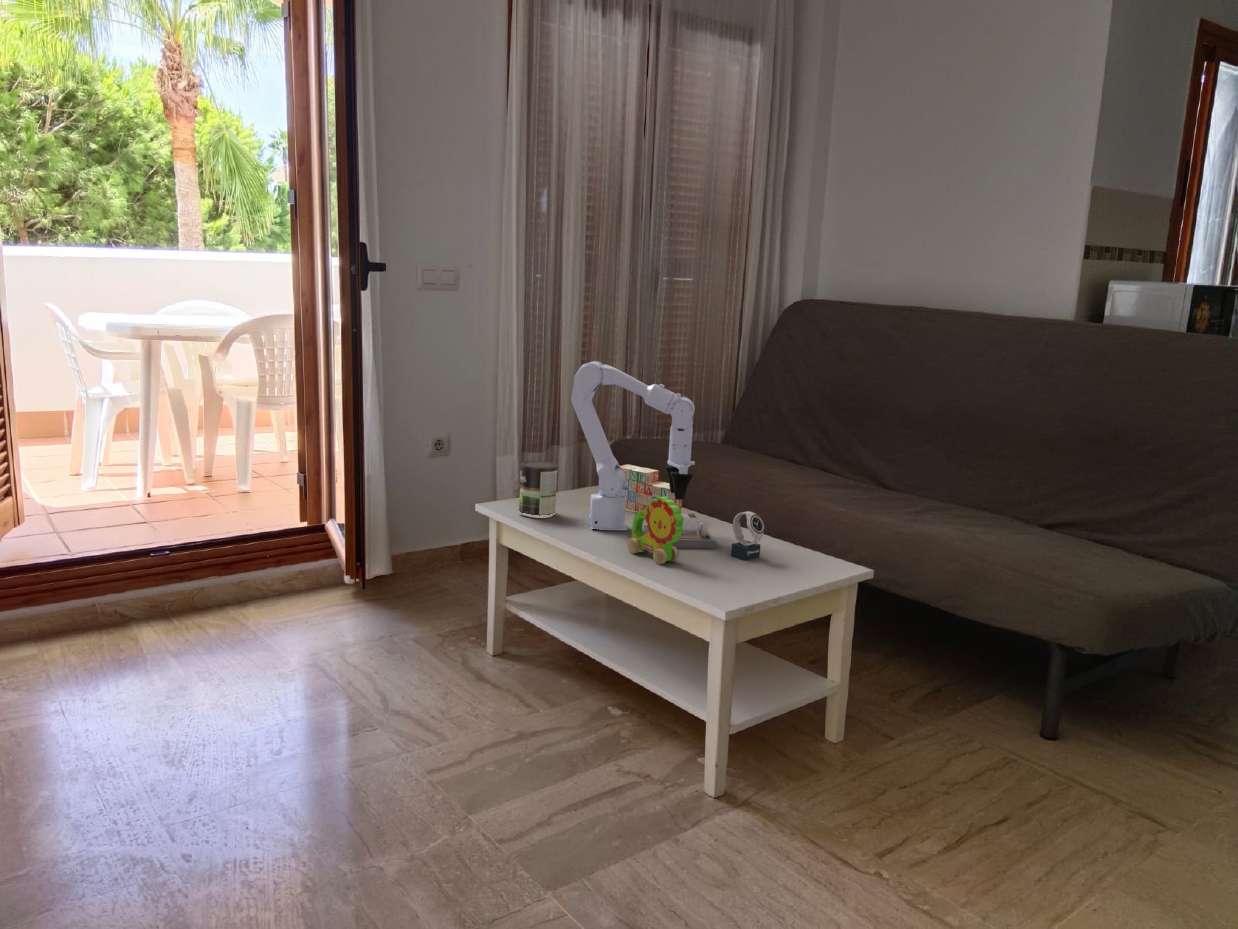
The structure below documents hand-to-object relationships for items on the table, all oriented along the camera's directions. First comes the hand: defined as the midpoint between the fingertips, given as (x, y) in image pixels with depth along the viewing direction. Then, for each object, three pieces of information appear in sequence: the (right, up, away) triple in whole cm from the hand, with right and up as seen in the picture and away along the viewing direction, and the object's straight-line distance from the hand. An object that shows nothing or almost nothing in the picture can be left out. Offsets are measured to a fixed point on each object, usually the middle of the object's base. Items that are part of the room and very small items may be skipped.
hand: (676, 496), depth 239 cm
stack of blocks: (-7, -6, +23) cm, 25 cm away
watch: (+15, -14, -17) cm, 27 cm away
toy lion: (-7, -14, -23) cm, 28 cm away
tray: (0, -11, -6) cm, 12 cm away
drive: (0, -10, -6) cm, 11 cm away
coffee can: (-38, -6, +14) cm, 41 cm away
